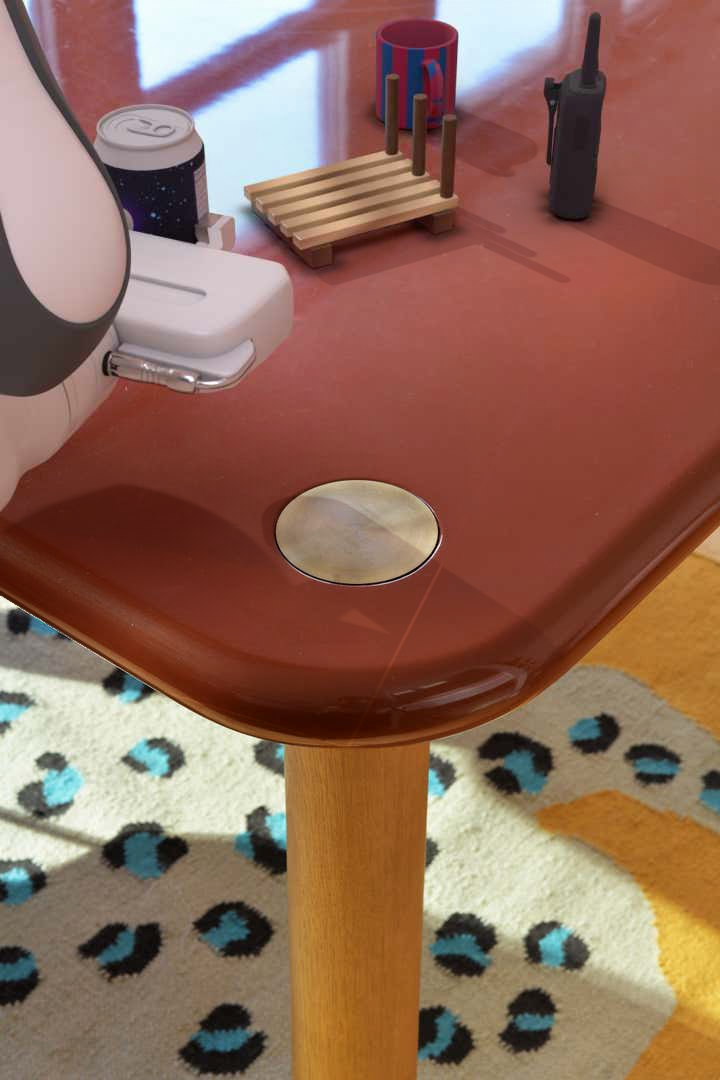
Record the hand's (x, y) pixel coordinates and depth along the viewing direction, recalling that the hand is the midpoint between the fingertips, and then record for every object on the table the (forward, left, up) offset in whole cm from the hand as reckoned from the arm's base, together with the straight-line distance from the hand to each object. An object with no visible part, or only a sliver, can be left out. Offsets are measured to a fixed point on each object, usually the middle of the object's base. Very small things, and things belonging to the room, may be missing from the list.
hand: (163, 213), depth 72 cm
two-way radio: (+36, +12, -14) cm, 41 cm away
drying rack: (+21, +18, -14) cm, 31 cm away
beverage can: (-1, -1, -7) cm, 7 cm away
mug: (+34, +30, -14) cm, 48 cm away
